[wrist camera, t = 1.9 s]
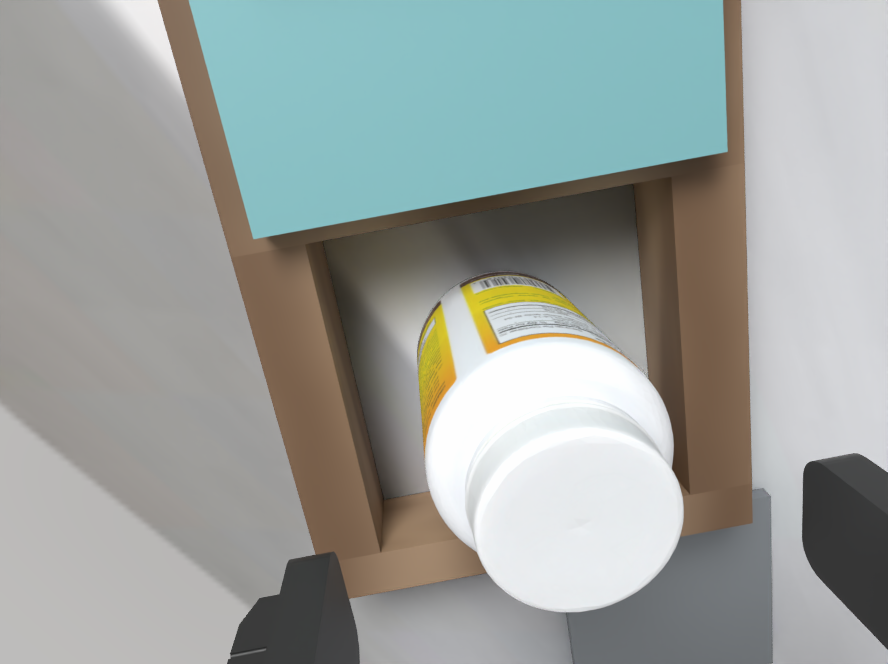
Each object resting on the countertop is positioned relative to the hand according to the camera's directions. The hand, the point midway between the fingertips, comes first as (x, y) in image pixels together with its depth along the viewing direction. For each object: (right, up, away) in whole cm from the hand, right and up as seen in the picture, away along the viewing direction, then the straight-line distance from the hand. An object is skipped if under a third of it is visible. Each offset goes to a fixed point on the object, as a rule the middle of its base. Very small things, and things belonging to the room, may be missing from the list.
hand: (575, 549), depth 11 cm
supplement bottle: (0, +3, +11) cm, 11 cm away
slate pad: (+7, -7, +14) cm, 17 cm away
